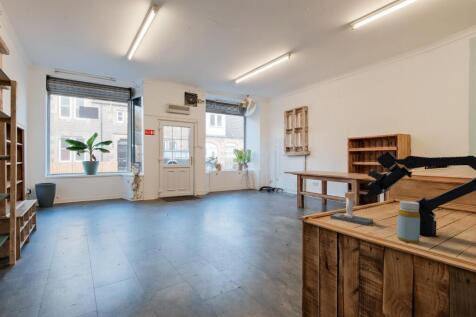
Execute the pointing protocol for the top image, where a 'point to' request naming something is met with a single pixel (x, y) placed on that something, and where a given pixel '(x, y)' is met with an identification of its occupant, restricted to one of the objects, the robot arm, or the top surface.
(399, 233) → the bottle
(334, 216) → the console
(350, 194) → the fader knob
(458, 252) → the top surface
